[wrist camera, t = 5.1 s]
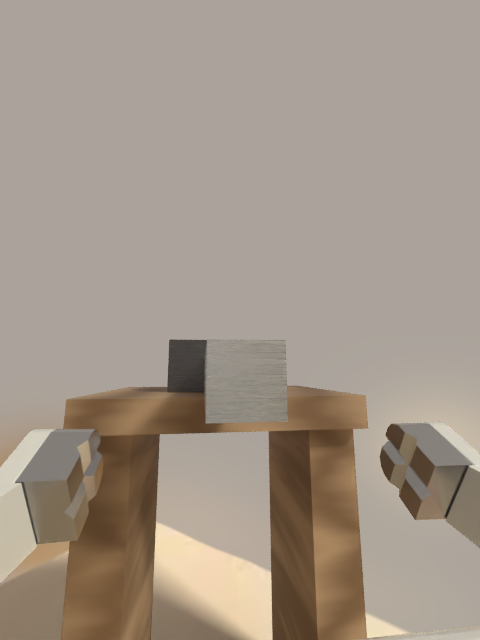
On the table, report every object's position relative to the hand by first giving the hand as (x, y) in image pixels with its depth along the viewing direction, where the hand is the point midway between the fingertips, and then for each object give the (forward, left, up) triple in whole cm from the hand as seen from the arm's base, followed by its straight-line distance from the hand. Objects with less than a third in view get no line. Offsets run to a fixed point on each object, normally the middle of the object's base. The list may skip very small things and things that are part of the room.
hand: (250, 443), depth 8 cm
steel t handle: (0, +10, 0) cm, 10 cm away
